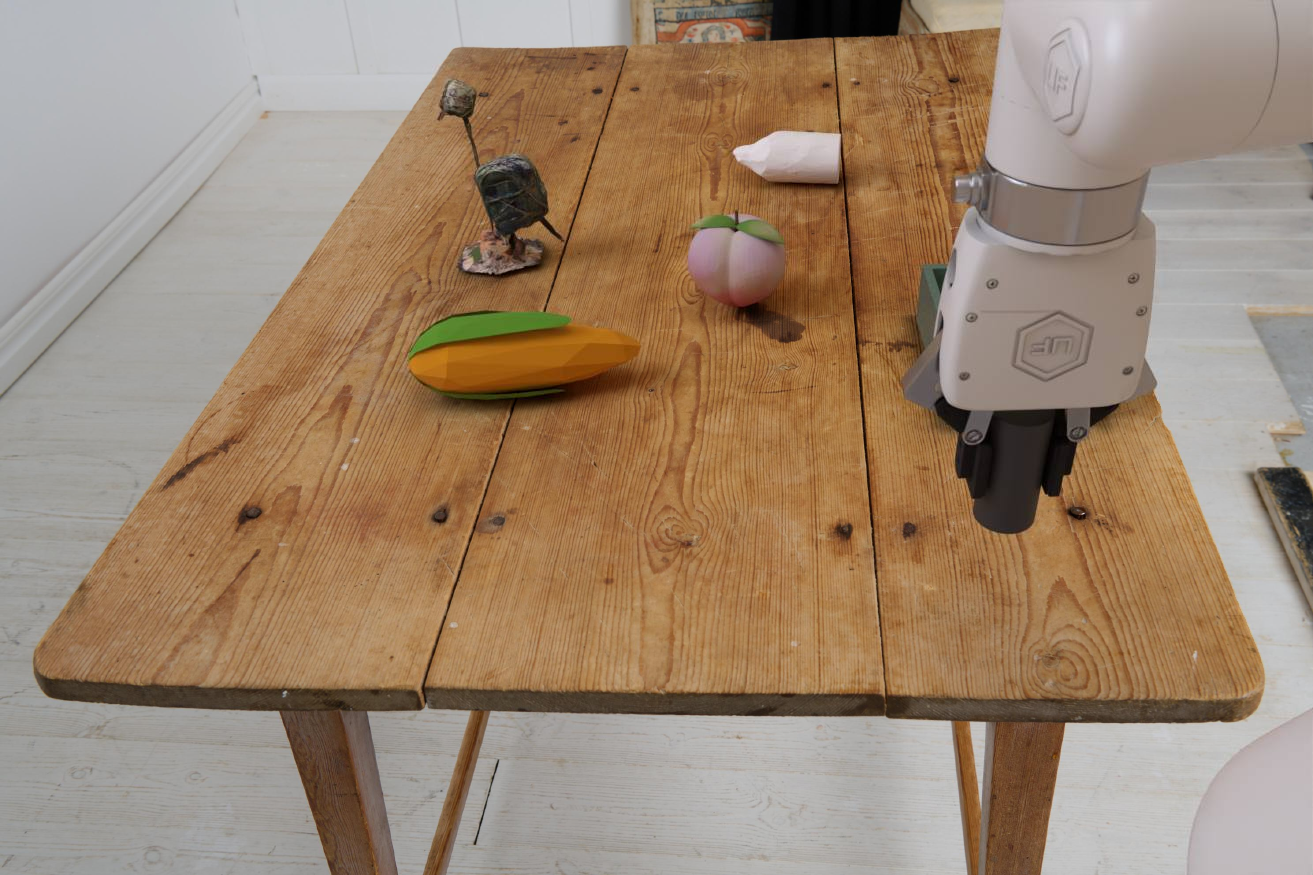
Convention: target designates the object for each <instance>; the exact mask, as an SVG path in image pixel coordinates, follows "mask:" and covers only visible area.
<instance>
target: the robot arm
mask: <svg viewBox="0 0 1313 875" xmlns="http://www.w3.org/2000/svg"><path fill="white" fill-rule="evenodd" d="M1002 5H1003V6H1002V14H1001V22H1000V30H999V38H998V44H997V54H996V60H995V62H996V63H995V69H994V76H993V84H992V91H991V99H990V100H991V101H990V109H989V114H988V115H989V117H988V123H987V124H988V125H987V132H986V140H985V147H984V148H985V149H984V152H980V157H979V164H977V165H976V167H975V170H974V171H968V172H967V173H966V174H954V175H952V176H951V180H950V191H949V192H950V200H951V202H952V203H953V204H962V203H963V204H964V203H966V205H967V206H969V207H968V208H967V209H966V211H965V213H964V215H963V218H962V220H961V222H960V225H959V228H958V230H957V234H956V236H955V239H954V243H953V247H952V250H951V253H950V257H949V260H948V262H947V264H948V267H947V271H946V274H945V279H944V283H943V287H942V292H941V297H940V301H939V306H938V312H937V317H936V323H935V330H934V338H933V340H932V341H931V343H930V344H929V345H928V346H927V348H926V349H923V350H922V353H921V354H920V355H919V356H918V357H917V358H916V359H915V361H914V362H913V363H912V365H910V367H909V369H907V371H906V372H905V373H904V375H903V376H902V377H901V379H900V386H901V390H902V394H903V397H904V398H905V400H907V401H909V402H911V403H913V404H915V405H917V406H918V407H919V406H920V407H922V408H924V409H926V410H927V411H932V412H934V413H936V415H937V416H938V418H940V419H941V420H942V421H944V422H945V424H946V423H947V424H946V425H949V427H951V429H953V430H955V431H956V432H957V441H956V449H955V454H954V469H955V470H954V471H955V473H956V477H957V479H959V480H960V479H961V480H962V479H965V482H966V485H967V489H968V491H969V495H970V499H971V500H974V499H982V496H985V493H986V487H987V481H988V475H989V469H990V462H991V456H992V444H991V441H990V438H989V436H988V426H989V424H990V421H991V418H992V415H993V412H994V411H1002V410H1037V409H1056V415H1055V420H1054V425H1053V430H1052V435H1051V440H1050V445H1049V450H1048V455H1047V460H1046V465H1045V470H1044V475H1043V480H1042V485H1041V489H1042V490H1043V493H1044V495H1045V496H1048V497H1049V498H1059V497H1060V495H1061V491H1062V487H1063V486H1062V485H1063V482H1064V481H1063V480H1064V478H1065V477H1064V476H1071V474H1072V471H1073V466H1074V462H1075V456H1076V452H1077V448H1078V443H1079V442H1082V441H1084V440H1086V439H1087V438H1088V437H1089V435H1090V432H1091V431H1090V429H1091V428H1092V427H1093V426H1095V425H1096V424H1098V423H1100V421H1102V420H1103V419H1105V418H1107V417H1108V416H1110V415H1111V414H1112V413H1113V412H1116V410H1118V409H1119V406H1120V404H1127V403H1129V402H1131V401H1133V400H1136V399H1138V398H1140V397H1143V396H1145V395H1147V394H1149V393H1151V392H1153V391H1154V390H1155V389H1156V388H1157V386H1158V381H1157V378H1156V377H1155V375H1154V372H1153V370H1152V369H1151V366H1150V365H1149V363H1148V361H1147V359H1146V352H1147V346H1148V340H1149V333H1150V326H1151V318H1152V310H1153V302H1154V301H1153V300H1154V289H1155V278H1156V263H1157V262H1156V261H1157V260H1156V259H1157V258H1156V256H1157V235H1156V234H1157V233H1156V231H1157V230H1156V225H1155V223H1154V222H1153V221H1152V220H1151V219H1150V218H1149V217H1148V216H1147V215H1146V214H1145V213H1144V212H1143V210H1142V209H1143V205H1144V201H1145V196H1146V193H1147V188H1148V183H1149V179H1150V174H1151V171H1152V168H1155V167H1163V166H1169V165H1175V164H1183V163H1191V162H1198V161H1203V160H1211V159H1215V158H1218V157H1223V156H1229V155H1236V154H1243V153H1248V152H1255V151H1263V150H1269V149H1274V148H1283V147H1287V146H1293V145H1302V144H1309V143H1313V0H1003V4H1002ZM964 374H965V375H964ZM939 379H940V384H941V385H940V384H939V382H937V381H938V380H939ZM1186 875H1313V707H1310V708H1309V709H1308V710H1306V711H1304V712H1302V713H1300V714H1298V715H1297V716H1295V717H1293V718H1291V719H1290V720H1288V721H1285V722H1283V723H1282V724H1280V725H1279V726H1277V727H1275V728H1274V729H1272V730H1270V731H1268V732H1266V733H1264V734H1262V735H1261V736H1259V737H1258V738H1256V739H1255V740H1253V741H1251V742H1250V743H1249V744H1247V745H1246V746H1244V747H1243V748H1241V749H1240V750H1239V751H1238V752H1237V753H1236V754H1234V755H1233V757H1231V758H1230V759H1229V760H1228V761H1226V762H1225V764H1224V765H1223V766H1222V767H1221V768H1220V770H1219V771H1218V772H1217V773H1216V774H1215V776H1214V777H1213V779H1212V780H1211V781H1210V783H1209V785H1208V786H1207V788H1206V790H1205V792H1204V794H1203V796H1202V797H1201V799H1200V802H1199V804H1198V807H1197V810H1196V812H1195V815H1194V818H1193V821H1192V826H1191V829H1190V835H1189V840H1188V847H1187V857H1186Z"/></svg>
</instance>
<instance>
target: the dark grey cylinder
mask: <svg viewBox="0 0 1313 875" xmlns="http://www.w3.org/2000/svg"><path fill="white" fill-rule="evenodd" d="M1055 415H1056V409H1037V410H1002V411H994V412H993V415H992V418H991V421H990V424H989V426H988V436H989V438H990V441H991V444H992V456H991V462H990V469H989V475H988V481H987V487H986V493H985V496H982V499H973V505H972V516H973V517H974V519H975V521H976V522H977V523H978V524H979V525H980V526H982V527H983V528H984V529H986V530H988V531H991V532H994V533H997V534H1002V535H1016V534H1020V533H1024V532H1025V531H1028V530H1029V529H1030V528H1031V527H1032V526H1033V524H1034V522H1035V520H1036V515H1037V509H1038V504H1039V500H1040V495H1041V489H1042V480H1043V475H1044V470H1045V465H1046V460H1047V455H1048V450H1049V445H1050V440H1051V435H1052V430H1053V425H1054V420H1055Z"/></svg>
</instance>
